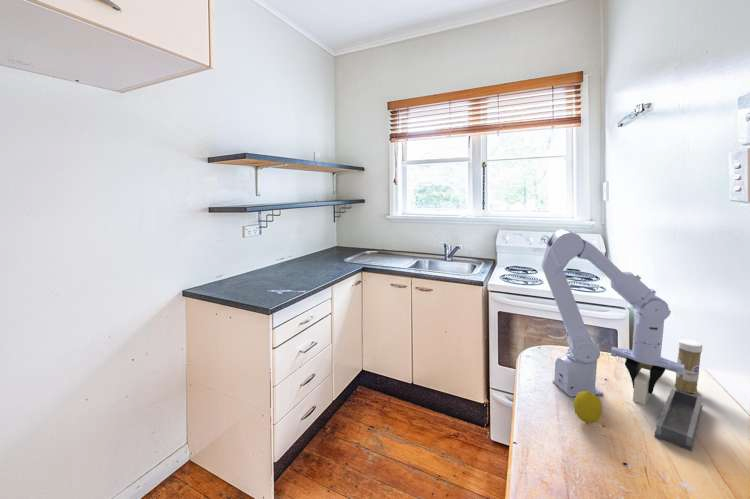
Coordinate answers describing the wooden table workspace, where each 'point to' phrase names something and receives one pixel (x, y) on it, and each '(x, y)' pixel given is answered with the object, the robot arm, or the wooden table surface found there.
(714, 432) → the wooden table surface
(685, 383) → the sprinkles bottle
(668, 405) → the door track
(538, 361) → the wooden table surface
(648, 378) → the door panel
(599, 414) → the lemon
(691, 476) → the wooden table surface
